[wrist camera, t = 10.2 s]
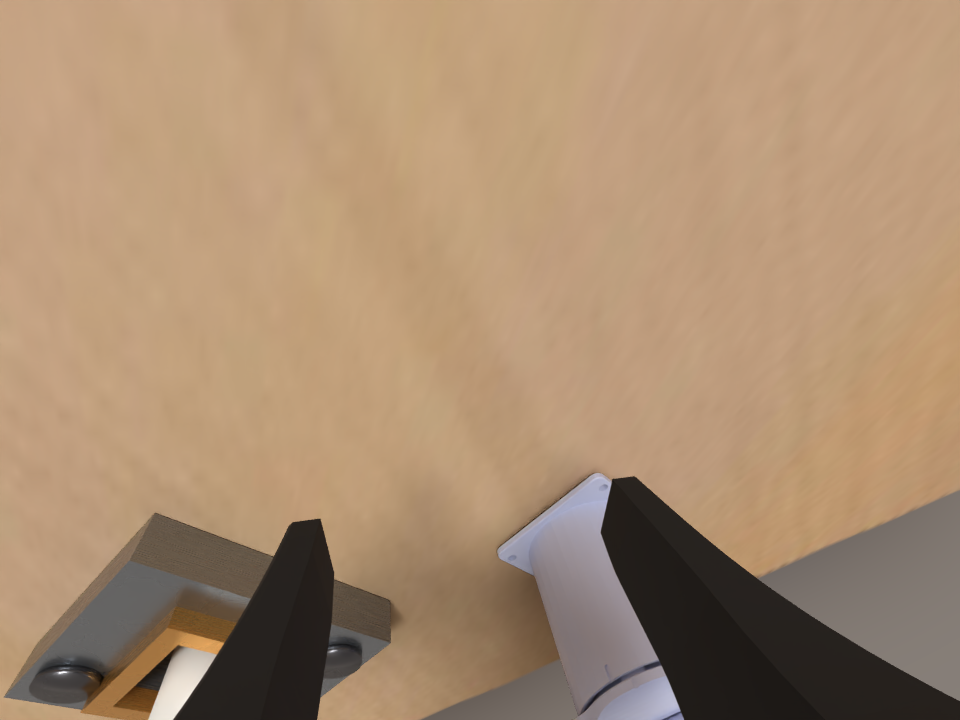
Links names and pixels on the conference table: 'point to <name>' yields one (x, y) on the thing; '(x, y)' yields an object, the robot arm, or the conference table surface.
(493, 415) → the conference table surface
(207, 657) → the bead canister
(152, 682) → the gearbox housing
